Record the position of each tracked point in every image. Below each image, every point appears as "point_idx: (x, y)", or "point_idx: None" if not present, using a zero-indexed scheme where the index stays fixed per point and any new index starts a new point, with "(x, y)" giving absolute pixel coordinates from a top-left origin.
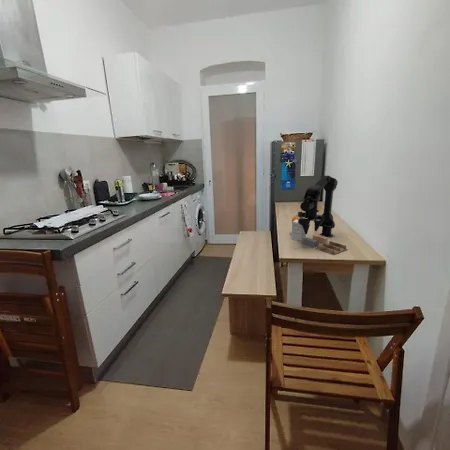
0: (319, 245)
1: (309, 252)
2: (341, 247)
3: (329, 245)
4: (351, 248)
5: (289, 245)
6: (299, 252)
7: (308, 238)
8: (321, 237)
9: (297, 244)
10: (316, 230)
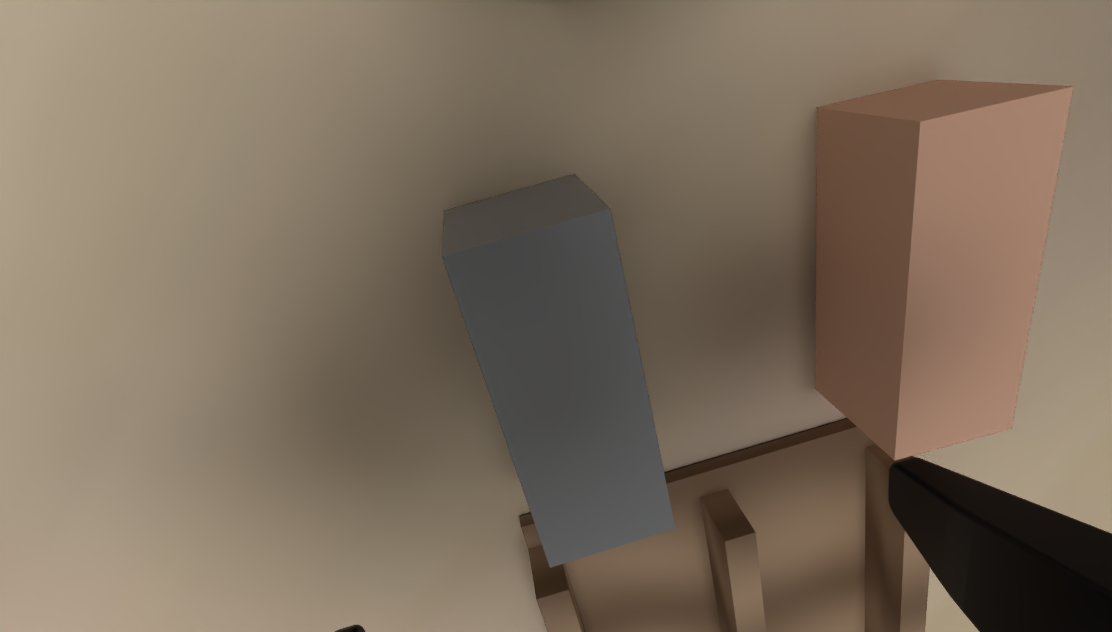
0: (573, 614)
1: (315, 618)
2: (869, 619)
3: (734, 629)
4: None
5: (31, 174)
6: (124, 586)
7: (591, 322)
8: (922, 368)
9: (298, 192)
10: (919, 550)
